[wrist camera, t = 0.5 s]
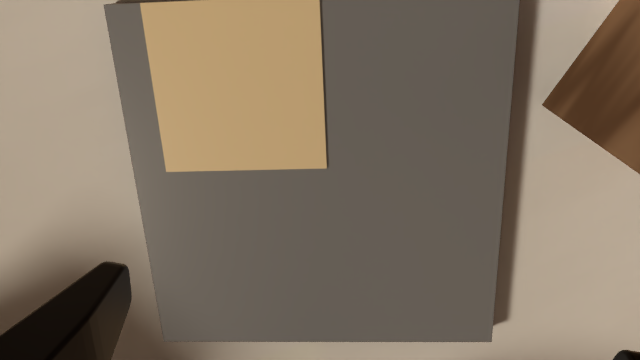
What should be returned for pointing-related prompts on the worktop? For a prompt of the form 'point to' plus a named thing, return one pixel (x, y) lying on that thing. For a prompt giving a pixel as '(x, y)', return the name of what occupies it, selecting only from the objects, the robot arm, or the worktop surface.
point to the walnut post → (606, 86)
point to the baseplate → (319, 164)
